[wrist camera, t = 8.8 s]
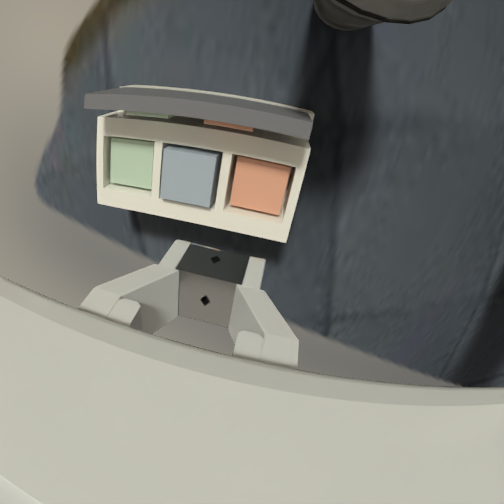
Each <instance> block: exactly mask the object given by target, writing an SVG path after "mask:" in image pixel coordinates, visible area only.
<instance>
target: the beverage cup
mask: <svg viewBox="0 0 504 504" xmlns="http://www.w3.org/2000/svg"><path fill="white" fill-rule="evenodd" d="M451 1H452V0H313V4H314V8H315V11H316V13H317V15H318V16H319V18H320V19H321V20H322V21H323V22H324V23H325V24H327V25H329V26H331V27H332V28H335V29H338V30H342V31H352V30H358V29H361V28H365V27H368V26H372V25H375V24H379V23H383V22H390V23H402V24H411V23H416V22H421V21H425V20H429V19H431V18H432V17H434V16H435V15H437V14H438V13H440V12H441V11H443V10H444V9H445V7H446V6H447V5H448V4H449V3H450V2H451Z"/></svg>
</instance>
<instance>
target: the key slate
mask: <svg viewBox="0 0 504 504" xmlns="http://www.w3.org/2000/svg"><path fill="white" fill-rule="evenodd" d="M221 158H222V152H220V151H215V150H209V149H203V148H197V147H191V146H184V145H178V144H171V145H169V146H168V147H166V148H164V152H163V164H162V177H161V193H160V198H163V199H168V200H173V201H178V202H183V203H188V204H193V205H198V206H203V207H208V208H209V207H210V206H211V204H212V202H213V201H214V199H215V197H216V191H217V184H218V178H219V171H220V164H221Z"/></svg>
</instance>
